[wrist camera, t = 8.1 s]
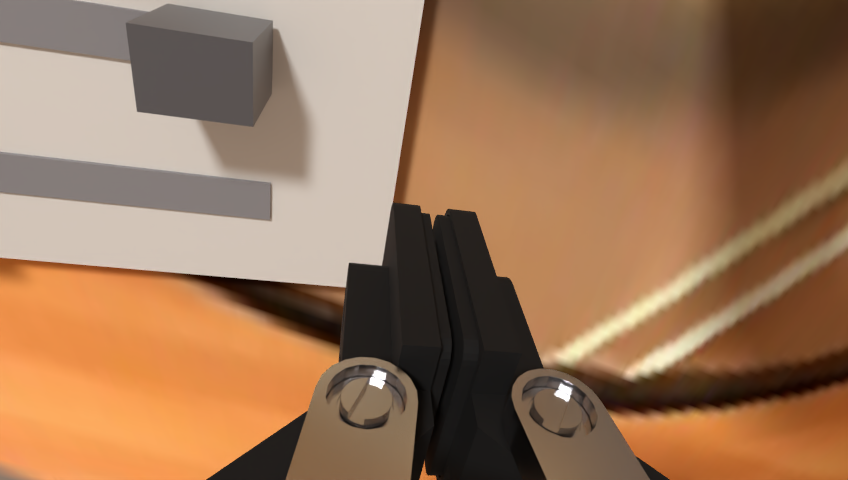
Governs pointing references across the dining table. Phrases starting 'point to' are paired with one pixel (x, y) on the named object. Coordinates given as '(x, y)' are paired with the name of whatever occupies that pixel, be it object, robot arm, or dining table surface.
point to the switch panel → (204, 144)
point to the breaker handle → (201, 64)
